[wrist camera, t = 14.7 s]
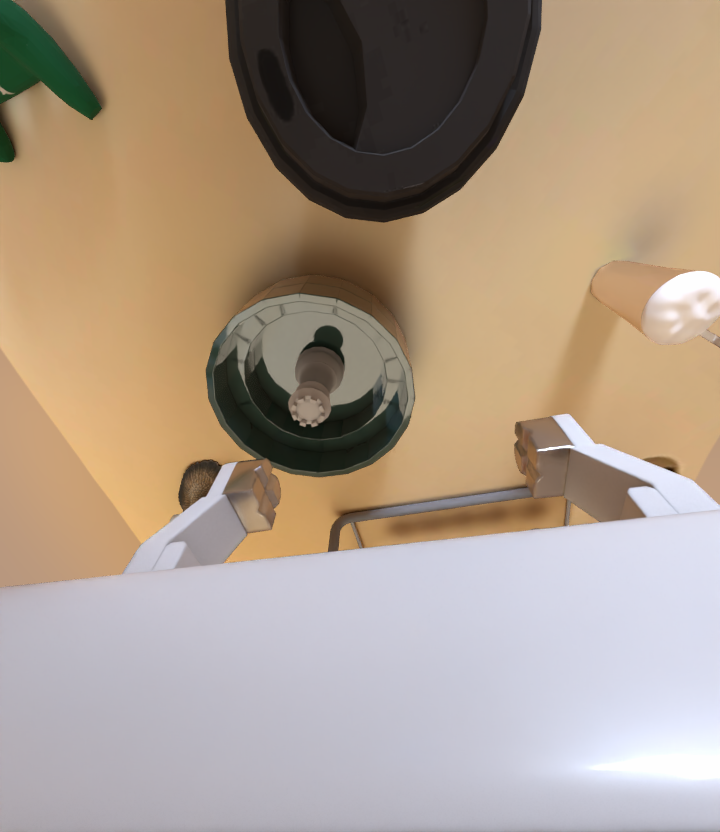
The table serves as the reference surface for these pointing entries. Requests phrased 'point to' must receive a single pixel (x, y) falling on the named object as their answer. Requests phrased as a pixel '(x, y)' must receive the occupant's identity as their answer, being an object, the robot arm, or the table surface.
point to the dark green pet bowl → (275, 383)
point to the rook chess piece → (315, 385)
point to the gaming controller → (36, 67)
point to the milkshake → (660, 300)
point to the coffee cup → (381, 93)
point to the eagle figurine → (196, 483)
